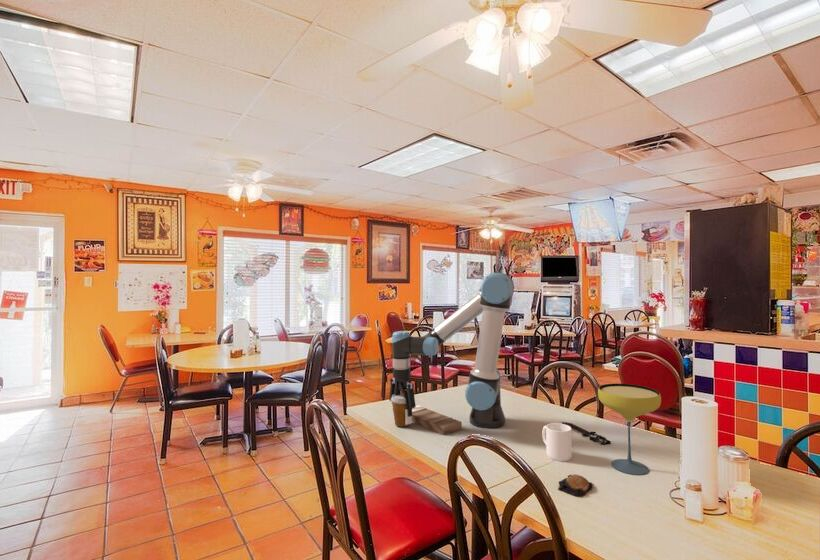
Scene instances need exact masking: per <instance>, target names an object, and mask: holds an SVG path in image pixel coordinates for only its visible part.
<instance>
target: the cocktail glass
mask: <svg viewBox="0 0 820 560" xmlns="http://www.w3.org/2000/svg"><path fill="white" fill-rule="evenodd" d="M597 397H598V400H599V401H600V402H601V404H602V405H603V406H605V407H606V408H608V409H610V410H612V411H613V412H615V413H618V414H619V415H620V416H621V417H622V418H623V419H624V421H626V422H627V459H625V458H617V459H614V460H611V466H612V468H614V470H616V471H618V472H621V473H624V474H627V475H632V476H642V475H645V474H646V475H647V474H648V473H649V472H650V469H649V467H648V466H647V465H646V464H644V463H642V462H640V461H636V460H633V459H632V448H631V447H632V446H631V422H633V421H634V420H635V419H636V418H638V417H639V416H642V415H646V414H650V413H652V412H655V411H656V410H658V409H659V408H660V406H661V403H662V396H661V393H660V392H659V391H658V390H657V389H654V388H651V387H647V386H643V385H638V384H631V383H606V384H602V385H600V386H599V387H598V390H597Z"/></svg>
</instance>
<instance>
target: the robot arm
mask: <svg viewBox="0 0 820 560" xmlns="http://www.w3.org/2000/svg"><path fill="white" fill-rule="evenodd" d="M514 289H515V284H514V281H513V279H512V278H511V276H509V275H508V274H506V273H502V272H492V273H489V274H488V275H486V276H485V277H484V278H483V279H482V282H481V284H480V288H479V289H478V293H477V294H475V296H473V297H472V298H470V299H469V300H468V301H467V302H465V303H464V304H463V305H461V307H459V308H458V309H457V310H456V311H454V312H453V313H452V314H450V315H449V316H448V317H447V318H445V319H444V320H443V321H442V322H440V323H439V324H438V325H437V326H435V327H434V328H433V329H432V330H430V331H429V332H428V333H427V334H425V335H423V336H412V335H411V333H410V332H409V331H406V330H398V331H397V330H396V331H394V332H393V333H392V342H391V347H392V368H393V369H392V378H390V379H389V381H390V387H389V398H388V399H389V400H388V401H389V402H392V401H391V398H392V395H400V393H403V396H404V398H405V399H406V407H407V408H405V424H406V425H407V424H409V425H411V424H413V422H412V408H415V407H416V406H415V405H416V399H415V391H414V389H415V388H414V387H415V384H414V383H413V382H412V383H410V380H409V379H410V377H411V355H412V356H413V355H416V356H417V355H419V356H428V357H429V356H436V355H437V354H438V352H439V347H440V346H441V345H443V344H444V343H446V341H448V340H449V339H450V338H452V337H453V336H455V335H456V334H457V333H458V332H459V331H460V330H462V329H463V328H465V327H466V326H467V325H468V324H470V323H471V322H472V321H473V320H475V319H476V318H477V317H479V316H480V315H481V314H482V315H481V319H480V328H479V333H478V334H479V335H478V341H477V348H476V355H475V363H474V368H472V369H471V370H470V372H469V377H468V384H467V387H466V389H465V396H464V397H465V399H466V402H467V403H468V405H469V406H470V407H471V410H470V414H469V423H470V424H471V425H473V426H475V427H477V428H484V429H494V428H495V429H496V428H501V427H503V426H504V425H505V424H506V417H505V414H504V411H503V408H502V404H501V397H502V396H501V371H500V369H497V367H498V362H499V361H498V360H499V354H500V350H501V349H500V348H501V342H502V341H501V340H502V335H503V334H502V333H503V327H504V321H505V314H506V312H508V311H509V310H510V306H511V300H512V295H513V293H514V291H515V290H514ZM392 419H393V420H394V413H393V412H392Z"/></svg>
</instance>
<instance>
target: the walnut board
mask: <svg viewBox="0 0 820 560" xmlns="http://www.w3.org/2000/svg"><path fill="white" fill-rule="evenodd" d="M415 406H416V407H415V408H412V423H415V424H418V425H420V426H422V427H425V428H426V429H428V430H431V431H433V432H436V433H439V434H440V435H442V436H445V435H448V434H452V433H455V432H458V431H460V430H462V428H463V427H462V425H463V424H462V421H460V420H458V419H455V418H453V417H451V416H447V415H444V414H442V413H439V412H436V411H433V410H431V409H430V408H429V409H428V408H426V406H425V407H424V406H421V405H420V404H415Z"/></svg>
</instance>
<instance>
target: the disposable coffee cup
mask: <svg viewBox="0 0 820 560" xmlns="http://www.w3.org/2000/svg"><path fill="white" fill-rule="evenodd" d="M390 402H391V404H392V414H393V413H394V419H393V420H394V425H395V426H397V427H407V426H410V424H407V425H406V424H405V408H407V407H406V399H405V398H404V396H403V393H402V392H400V395H392V398H391V401H390Z"/></svg>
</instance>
